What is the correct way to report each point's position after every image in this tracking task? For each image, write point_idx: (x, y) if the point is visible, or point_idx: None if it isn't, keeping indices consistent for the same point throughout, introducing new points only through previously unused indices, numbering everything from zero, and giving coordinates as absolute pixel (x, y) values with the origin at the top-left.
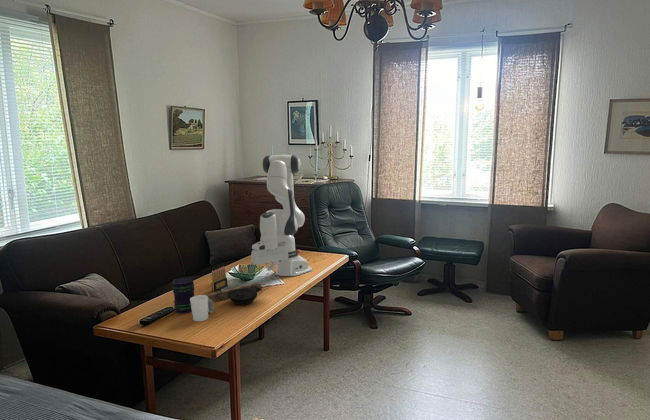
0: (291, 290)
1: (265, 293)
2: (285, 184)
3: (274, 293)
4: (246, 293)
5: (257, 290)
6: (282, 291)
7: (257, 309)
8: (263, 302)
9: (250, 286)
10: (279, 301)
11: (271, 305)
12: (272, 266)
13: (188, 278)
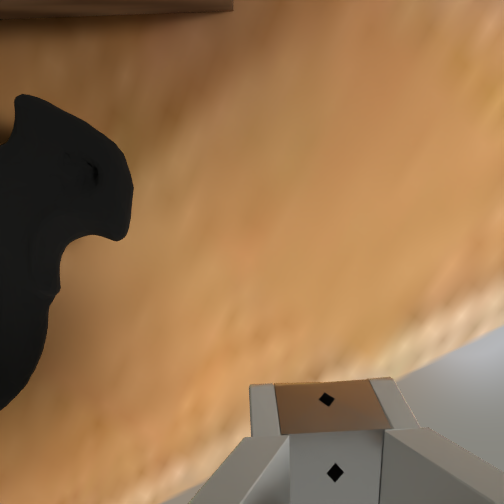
0: (489, 262)
1: (221, 164)
2: None
3: (301, 230)
4: None
5: (84, 234)
6: (401, 229)
7: (8, 483)
8: (104, 383)
9: (42, 2)
10: (234, 441)
11: (138, 475)
12: (384, 491)
13: None
